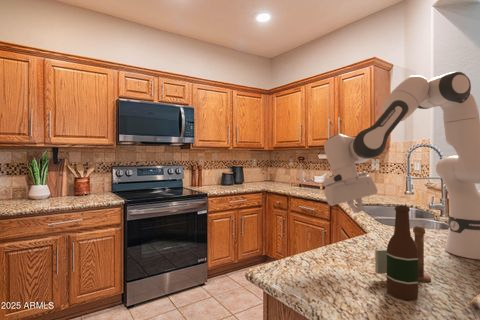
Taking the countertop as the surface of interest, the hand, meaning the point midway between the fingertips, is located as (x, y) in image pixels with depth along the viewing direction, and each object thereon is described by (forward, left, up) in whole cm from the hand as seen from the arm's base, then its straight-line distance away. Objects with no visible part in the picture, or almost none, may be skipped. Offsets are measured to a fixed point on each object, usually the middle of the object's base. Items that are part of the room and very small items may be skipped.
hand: (358, 212), depth 99 cm
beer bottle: (+3, +25, -18) cm, 31 cm away
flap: (-2, +16, -16) cm, 23 cm away
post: (-10, +16, -18) cm, 26 cm away
